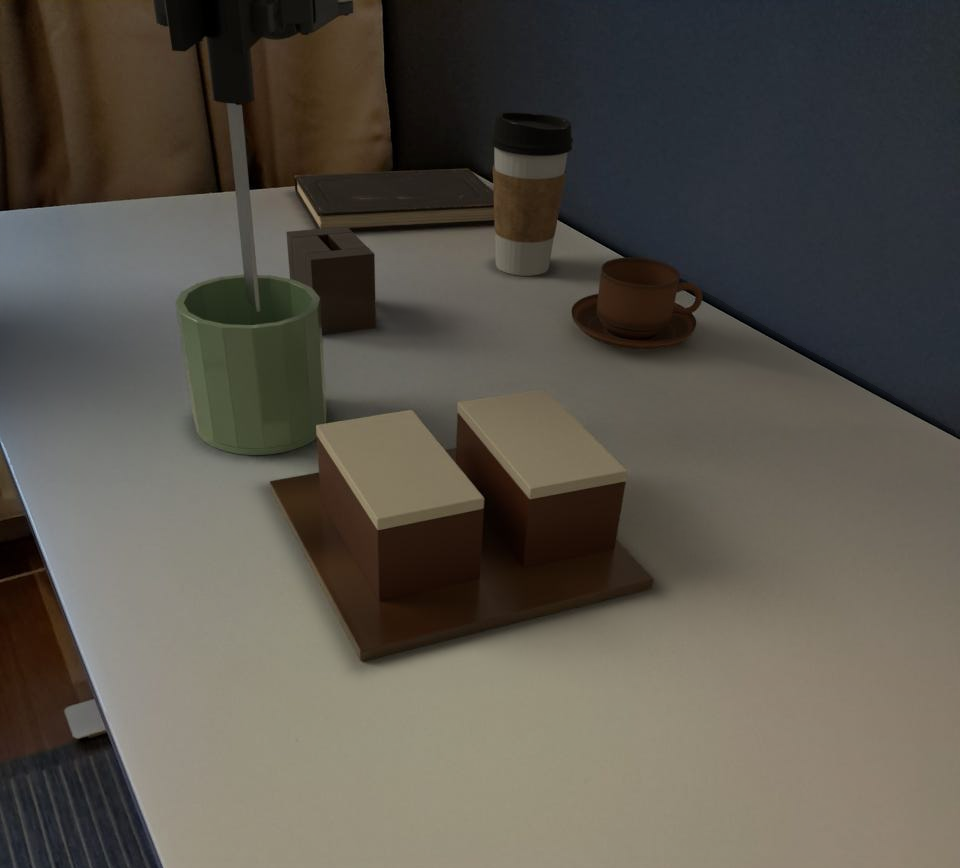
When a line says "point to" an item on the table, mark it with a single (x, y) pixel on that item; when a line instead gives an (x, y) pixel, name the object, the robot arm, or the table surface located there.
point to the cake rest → (400, 503)
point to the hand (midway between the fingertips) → (204, 25)
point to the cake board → (454, 607)
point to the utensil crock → (253, 363)
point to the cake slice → (540, 476)
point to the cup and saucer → (637, 306)
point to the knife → (234, 125)
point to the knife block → (336, 276)
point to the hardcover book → (396, 199)
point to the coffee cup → (528, 188)
